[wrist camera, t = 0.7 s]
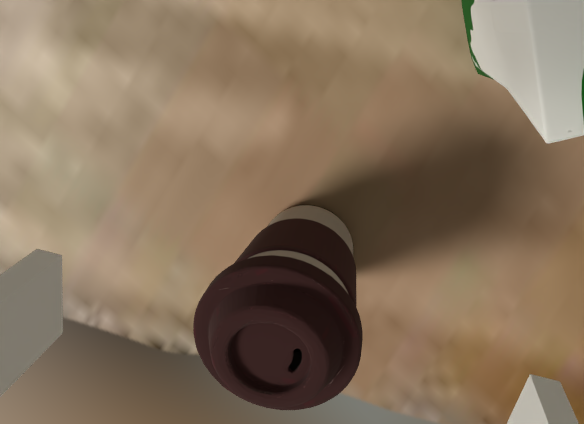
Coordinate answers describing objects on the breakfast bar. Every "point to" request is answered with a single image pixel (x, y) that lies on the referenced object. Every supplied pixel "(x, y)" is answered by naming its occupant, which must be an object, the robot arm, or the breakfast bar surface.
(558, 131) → the milk carton
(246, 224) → the breakfast bar surface
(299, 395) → the coffee cup
